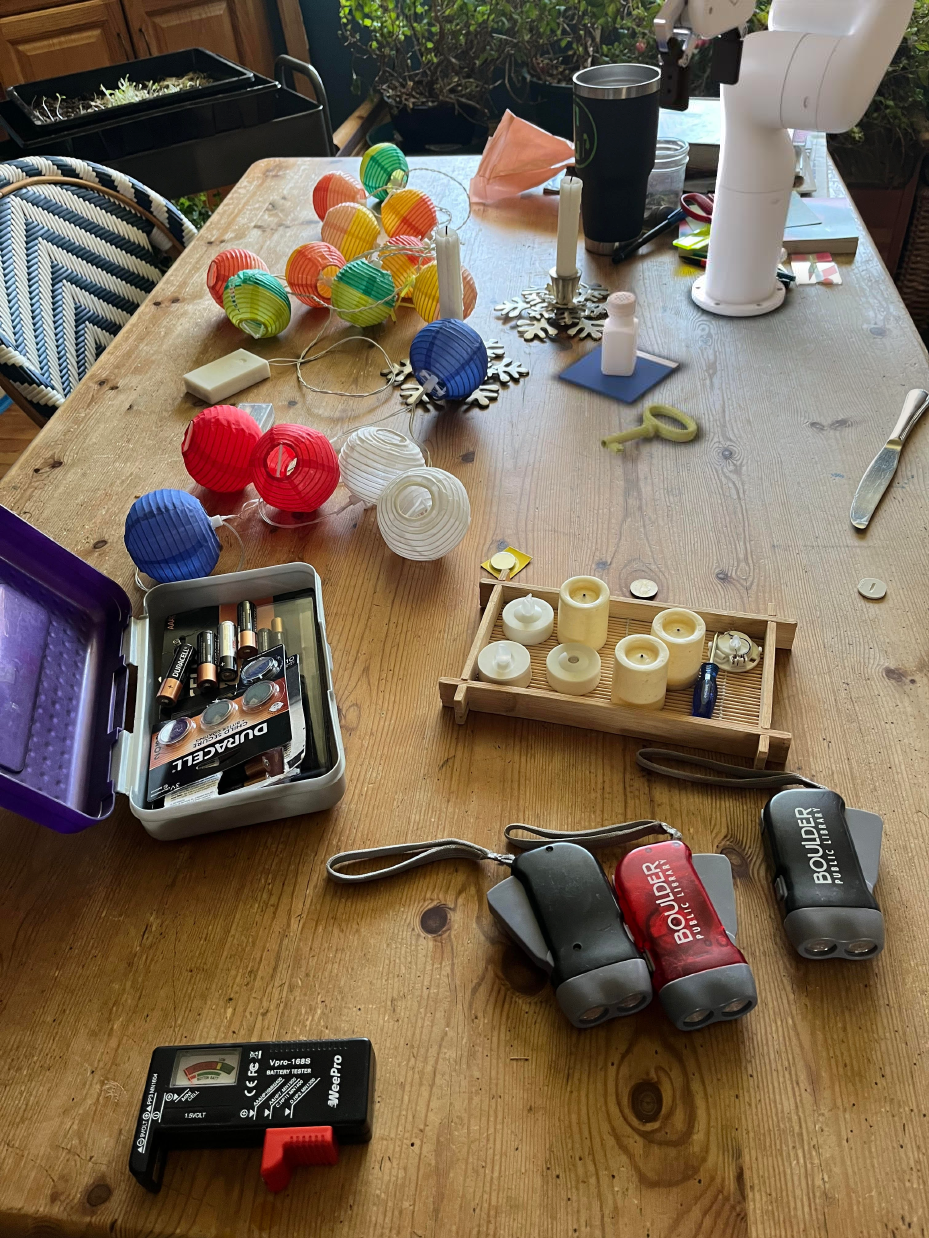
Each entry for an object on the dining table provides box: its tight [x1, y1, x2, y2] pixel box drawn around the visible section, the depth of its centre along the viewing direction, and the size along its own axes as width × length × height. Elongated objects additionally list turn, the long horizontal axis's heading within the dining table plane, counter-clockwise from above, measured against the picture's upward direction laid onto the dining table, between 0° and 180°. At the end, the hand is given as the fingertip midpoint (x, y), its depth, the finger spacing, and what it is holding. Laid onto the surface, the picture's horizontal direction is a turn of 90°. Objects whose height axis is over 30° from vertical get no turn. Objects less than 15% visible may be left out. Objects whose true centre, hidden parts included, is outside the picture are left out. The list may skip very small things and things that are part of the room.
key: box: [600, 403, 698, 455], centre depth 99 cm, size 7×12×2 cm, turn 139°
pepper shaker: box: [601, 291, 640, 376], centre depth 107 cm, size 4×4×10 cm
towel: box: [557, 344, 681, 405], centre depth 110 cm, size 11×11×1 cm
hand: (698, 96), depth 90 cm, fingers open, 9 cm apart
